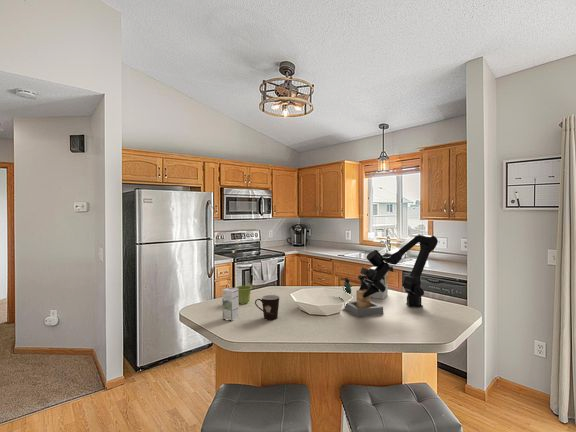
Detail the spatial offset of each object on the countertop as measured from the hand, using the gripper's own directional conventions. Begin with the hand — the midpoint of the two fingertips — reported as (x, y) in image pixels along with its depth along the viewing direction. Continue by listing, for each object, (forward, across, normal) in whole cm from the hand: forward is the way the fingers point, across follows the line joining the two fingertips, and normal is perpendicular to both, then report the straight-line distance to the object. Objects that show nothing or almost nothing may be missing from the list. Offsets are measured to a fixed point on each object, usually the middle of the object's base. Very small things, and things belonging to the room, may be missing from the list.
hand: (360, 295), depth 163 cm
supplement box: (-11, -23, +23) cm, 34 cm away
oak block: (+4, 0, +6) cm, 7 cm away
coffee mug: (+38, -6, -27) cm, 48 cm away
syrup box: (+51, -10, -40) cm, 65 cm away
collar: (+5, 0, +7) cm, 8 cm away
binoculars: (+2, -30, +10) cm, 31 cm away
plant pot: (+44, -35, -32) cm, 65 cm away
